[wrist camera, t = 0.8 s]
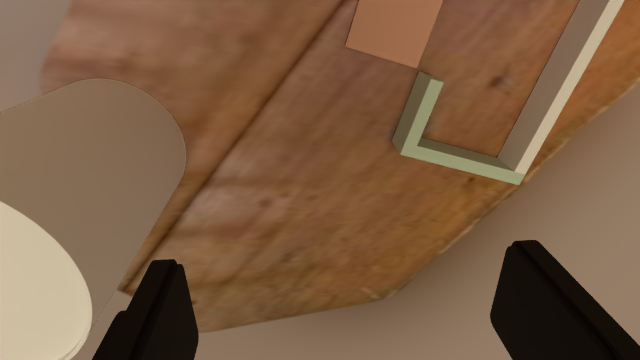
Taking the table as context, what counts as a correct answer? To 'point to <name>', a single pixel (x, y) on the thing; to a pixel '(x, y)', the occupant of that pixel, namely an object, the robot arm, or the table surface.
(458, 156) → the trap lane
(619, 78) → the table surface
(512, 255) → the robot arm
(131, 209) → the canister
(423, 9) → the mats
